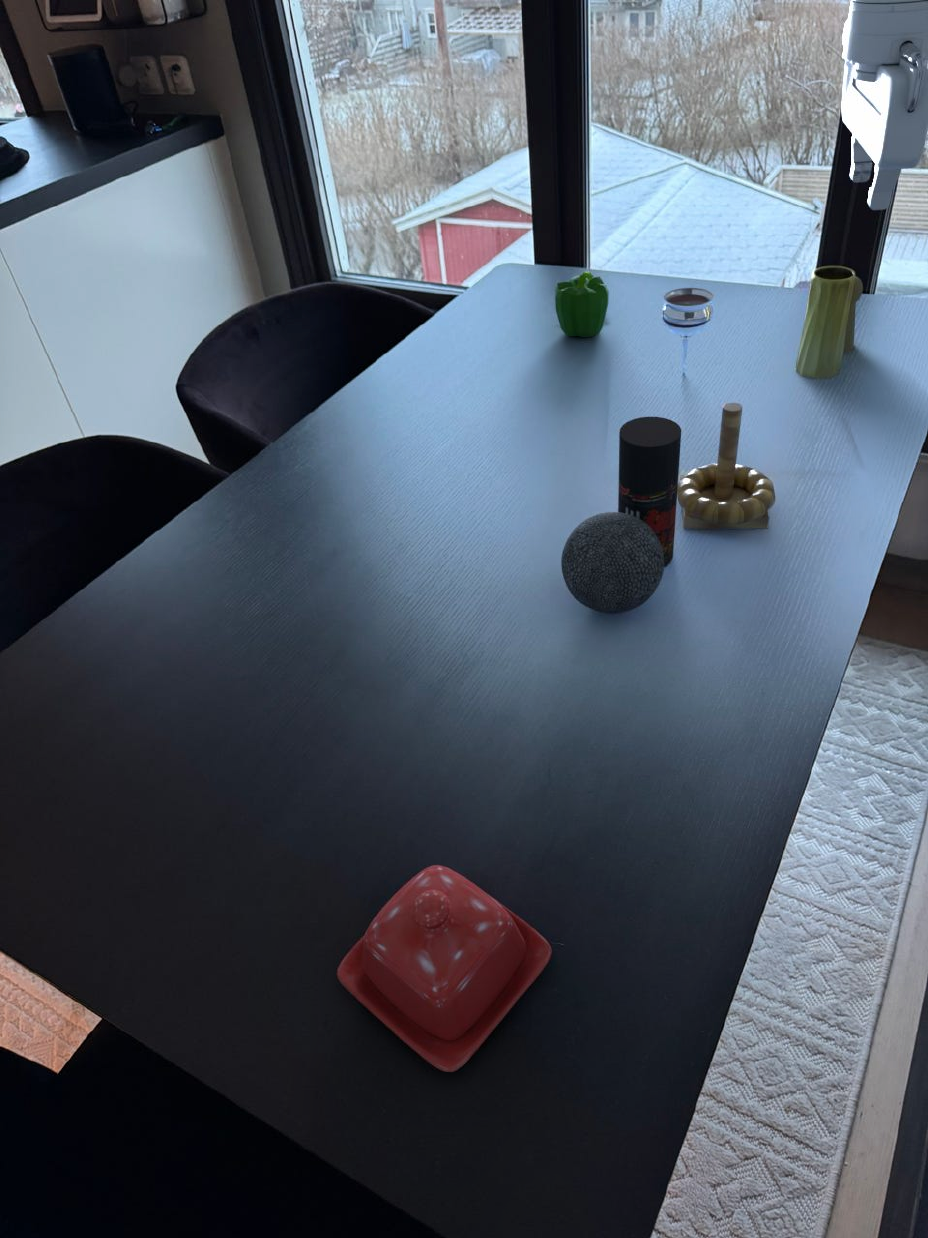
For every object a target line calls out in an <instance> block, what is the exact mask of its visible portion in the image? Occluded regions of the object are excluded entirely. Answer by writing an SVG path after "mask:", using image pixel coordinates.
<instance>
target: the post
mask: <svg viewBox="0 0 928 1238" xmlns="http://www.w3.org/2000/svg"><path fill="white" fill-rule="evenodd" d="M742 415H743V405H742V404H740V403H738V402H727V403H725V404H724V405H722V412H721V420H720V430H719V440H718V451H717V462H716V463H717V470H716V480H715V485H712V486H709V487H705V488H703V489H702V490H701V491H700V494H701V495H703V496H704V497H705V498H708V499H711V500H714V501H718V502H739V501H742V500H745V499H748V498H750V496H751V495H752V494H751V493H750V492H749V491H747V490H746V489H744V488H741V487H738V486H734V477H735V468H736V464H737V460H738V459H737V458H738V449H739V441H740V432H741V425H742V424H741V423H742ZM686 475H687V474H681V475H680V480H681V479H682V478H684V477H685V476H686ZM768 511H769V510H768ZM768 511H767V512H766V513H765V514H764V515H763V516H762V517H761V518H758V519H755V520H752V521H749V522H746V523H743V524H739V525H728V524H712V523H709V522H706V521H703V520H700V519H697V518H694V517H692V516H691V515H690V514H689V513H688V512H687V511H686V510H685V509H684V508H682V507H681V514H682V515H681V516H682V528H683V530H702V529H703V530H726V529H727V530H729V529H730V530H733V529H734V530H741V529H742V530H744V529H745V530H752V529H753V530H767V529H768V527H769V522H770V515H769V512H768Z"/></svg>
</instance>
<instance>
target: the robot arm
mask: <svg viewBox="0 0 928 1238" xmlns="http://www.w3.org/2000/svg"><path fill="white" fill-rule="evenodd" d="M841 42H842V45H843V51H842V59H844V72H843V82H842V95H841V118H842V122H843V124H844V125H845V126H846V128H847V129H848V130H849V132H850V133H851V135H852V136H851V165H850V171H849V178H850V180H852V182H853V183H855V184H856V183H867V182H868V181H869V180H870V178H871V173H872V168H873V163H874V170H873V171H874V176H873V182H872V185H871V186H869V190H868V198H867V201H866V202H867V205H868V207H869V208H870V209H871V210H872V211H883V210H887V209H888V208H889V207H890V205H891V200H892V195H893V191H894V189H895V186H896V185H897V182H898V181H899V178H900V177H901V174H902V170H903V169H905V170H906V169H913V168H916V167H917V166H918V164H919V163H920V162H921V159H922V157H923V154H924V151H925V146H926V140H927V135H928V0H850V4H849V12H848V17H847V19H846V21H845V23H844V27H843V32H842V40H841ZM872 161H873V162H872Z"/></svg>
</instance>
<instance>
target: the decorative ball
mask: <svg viewBox="0 0 928 1238" xmlns="http://www.w3.org/2000/svg"><path fill="white" fill-rule="evenodd" d="M560 563H561V564H560V565H561V566H560V567H561V573H562V577H563V581H564V582H565V586H566V587H567V589H568V591H569V593H570V594H571V595H572V596H573V598H574V599H575V600H576V601H577V602H579V603H580V604H581V605H582V606H584V607H586V608H588V609H590V610H592V611H595V612H598V613H602V614H622V613H623V614H624V613H627V612H629V611H633V610H635V609H637V608H639V607H640V606H642V605H643V604H644V603H646V602H647V601H648V600H649V599H650V598H651V597H652V596H653V595H654V593H655V592H656V590H657V589H658V587H659V585H660V583H661V581H662V578H663V575H664V570H665V567H664V554H663V549H662V546H661V544H660V541H659V539H658V537H657V536H656V534H655V532H654V531H653V530H652V529H651V527H650V526H649V525H647V524H646V523H645V522H644V521H642V520H640V519H639V518H637V517H635V516H632V515H629V514H626V513H621V512H618V511H608V512H607V511H606V512H602V513H597V514H595V515H592V516H590V517H587V518H586V519H584V520H583V521H582V522H580V523H579V524H578V525H577V526H576V527H575V528H574V529H573V530H572V532H571V533H570V535H569V536H568V538H567V539H566V541H565V543H564V546H563V549H562V552H561V560H560Z"/></svg>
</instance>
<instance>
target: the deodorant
mask: <svg viewBox="0 0 928 1238" xmlns="http://www.w3.org/2000/svg"><path fill="white" fill-rule="evenodd" d="M618 438H619V440H618V488H617V489H618V491H617V492H618V496H617V499H618V500H617V512H621V513H626V514H629V515H632V516H635V517H637V518H639V519H640V520H642V521H644V522H645V523H646V524H647V525H649V526H650V527H651V529H652V530H653V531H654V532H655V534H656V536H657V537H658V539H659V541H660V544H661V546H662V549H663V554H664V568H666V567H668V566H669V565H670V564H671V562H672V561H673V558H674V551H675V550H674V547H675V533H676V519H677V505H678V503H677V502H678V495H677V490H678V483H679V475H680V473H679V472H680V459H681V458H680V457H681V445H682V444H681V443H682V428H681V426H680V425H679V424H678V423H677V422H676V421H674V420H672V419H669V418H666V417H661V416H641V417H637V418H633V419H630V420H628V421H626V422H625V423H623V424H622V425H621V427H620V428H619V433H618Z"/></svg>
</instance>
